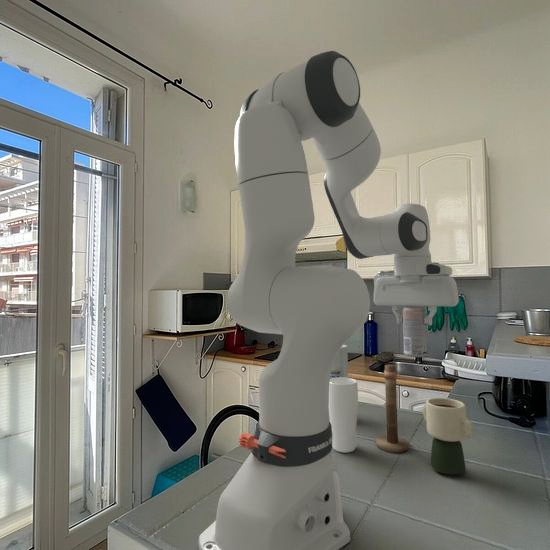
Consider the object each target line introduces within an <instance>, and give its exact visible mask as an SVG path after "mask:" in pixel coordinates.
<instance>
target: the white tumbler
mask: <svg viewBox="0 0 550 550" xmlns="http://www.w3.org/2000/svg"><path fill="white" fill-rule="evenodd" d="M358 405H359V387H358V380H357V379H355V378H352V377H348V378H345V377H336V378H331V379H330V382H329V417H330V420H329V422H330V423H331V426H332V432H333V439H332V450H334V451H336V452H339V453H345V454H346V453H347V454H348V453H351V452H354V451H355V450H356V448H357V441H356V439H357V421H358V408H359V407H358Z"/></svg>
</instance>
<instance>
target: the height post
mask: <svg viewBox="0 0 550 550" xmlns="http://www.w3.org/2000/svg"><path fill="white" fill-rule="evenodd" d="M383 374H384V375H383V377H384V384H385V386H384V387H385V388H384V389H385V420H386V421H385V422H386V423H385V424H386V425H385V426H386V435H380V436H378V437H376V439H375V440H376V441H375V442H376V446H377V448H378V449H379V450H382V451H383V452H387V453H390V454H391V453H393V454H402V453H403V454H404V453H406V452H408V451H409V449H410V442H409V441H408V440H407V439H405V438H403V437H401V436H399V433H398V432H399V429H398V400H397V399H398V397H397V395H398V394H397V393H398V392H397V391H398V390H397V379H398V371H397V365H394V364H384V370H383Z"/></svg>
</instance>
